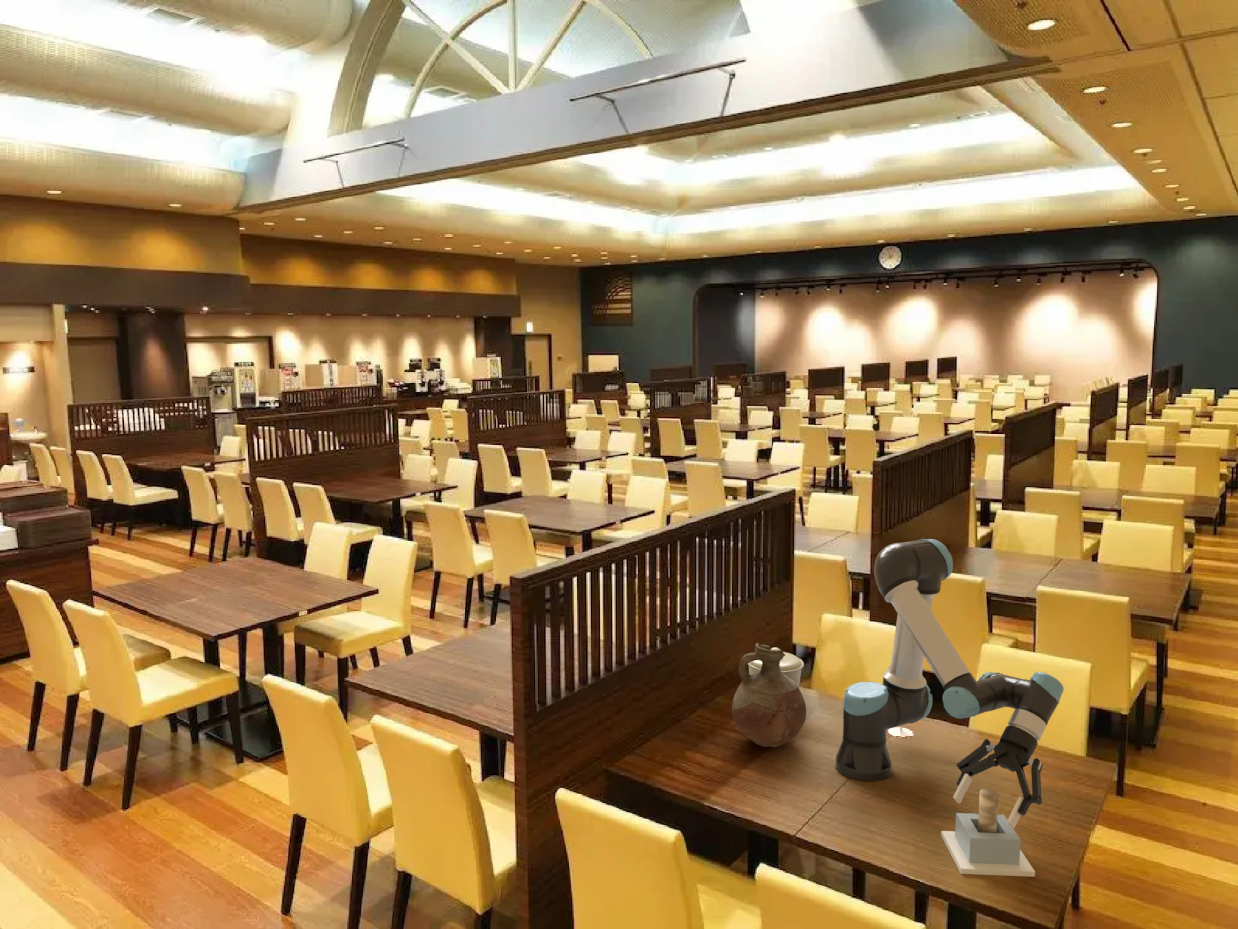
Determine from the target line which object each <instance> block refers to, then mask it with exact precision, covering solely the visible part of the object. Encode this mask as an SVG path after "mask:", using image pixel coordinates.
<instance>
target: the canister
mask: <svg viewBox="0 0 1238 929" xmlns="http://www.w3.org/2000/svg"><path fill="white" fill-rule="evenodd" d="M770 648H771V650H775V651H778V650H781V649H780V648H779V647H775V646H774V647H770ZM783 653H784V654H785V656H784V657H783V659H782V660H780V671H781V673H782V674H784V675H786V676H787V677H789V678H790V679H792V680H793V681H794V682H796V683H797V685H798V687H800V682H801V675H802V674H801V673H802V669H803V668H804V665H805V663H804V661H803V660H802V659H801V658H800V657H798V656H796V655H794V654H792V653H789V652H785V651H783ZM747 666H748V673H749V674H753V673H756V672H759V671H760V670H761V667H762V661H760V660H755V661H751V662H749V663H748V664H747Z"/></svg>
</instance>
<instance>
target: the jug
mask: <svg viewBox="0 0 1238 929" xmlns="http://www.w3.org/2000/svg"><path fill="white" fill-rule="evenodd" d="M754 646H755V648H754V649H755V650H754V652H749V653H745V654H743V656H742V657H741V658H740V660H739V662H738V673H739V677H740V681H741V683H740V684H739V686H738V688H737V689H736V691H735V694H734V696H733V700H732V704H731V714H732V717H733V720H734V722H735V725H736V726H737V729H739V731H740V732H741V733H742V734H743V735H745V736H746V737H747V738H748V739H750V740H751V741H752V743H754V744H755V745H757V746H760V747H762V748H769V747H772V748H778V747H780V746H783V745H784V744H786V743H788V742H790V741H791V740H793V739H794V738H796V736H798V734H799V733H800V732H801V730H802V728H803V726H804V724H805V722H806V718H807V707H806V701H805V698H804V695H803V693H802V691H801V690H800V688H799V687H800V686H799V687H798V685H797V683H796V682H794V681H793V680H792V679H790V678H789V677H787V676H786V675H784V674H782V673H781V671H780V660H782V659H783V657H784V656H785V654H784V653H783V652H784V651H783V650H782V649H780V650H778V651H775V650H771V648H772V647H771V646H770V645H767V644H760V642H756V643H755V645H754ZM755 660H760V661H762V667H761V670H760V671H759V672H756V673H753V674H749V672H748V671H747V670H748V669H747V666H748V663H749V662H751V661H755Z"/></svg>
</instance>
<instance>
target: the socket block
mask: <svg viewBox="0 0 1238 929" xmlns="http://www.w3.org/2000/svg"><path fill="white" fill-rule="evenodd" d="M978 817H979V813H967V812H966V813H965V812H955V829H954V831H953V830H952V831H951V830H941V831H940V833H941V834H940V837H941V838H942V840H943V841H944V842H943V843H944V844H945V846H946V848H947V850H948V852H949V853H950V855H951V857H952V860H953V861H954V864H955V865H956V867H957V869H958V871H959V873H960V875H978V876H979V875H980V876H981V875H983V876H1002V877H1003V876H1007V877H1009V876H1010V877H1036V871H1035V870H1034V868H1033V867H1032V865H1031V863H1030V862H1029V861H1028V859H1027V857H1026V856H1025V854H1024V853H1023V851H1022V850H1021V846H1022V845H1021V844H1022V840H1021V838H1020V836H1019V835H1018V833H1017V832H1016V830H1015V828H1011V827H1010V825H1009V824H1008V823H1007V820H1008V818H1007V817H1006V816H1005V814H998V815H997V833H979V832H978Z"/></svg>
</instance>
